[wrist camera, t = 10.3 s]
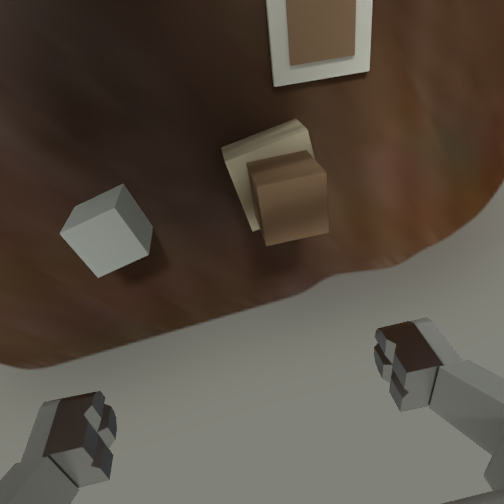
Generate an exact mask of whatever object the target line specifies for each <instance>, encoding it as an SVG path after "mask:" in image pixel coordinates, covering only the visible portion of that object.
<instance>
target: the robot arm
mask: <svg viewBox="0 0 504 504" xmlns="http://www.w3.org/2000/svg"><path fill="white" fill-rule="evenodd" d="M375 338H376V340H377V342H378V344H377V345H376V346H375V347H374V357H375V362H376V365H377V368H378V371H379V373H380V375H381V377H382V378H383V379H385V380H386V381H388V382H389V383H390V390H389V391H390V394H391V395H392V397H393V399H394V401H395V403H396V405H397V407H398V408H399V410H400V412H402V411H407V410H412V409H417V408H422V407H427V406H429V408H430V409H432V410H433V411H434V412H436V413H437V414H438V415H440V416H441V417H442V418H444V419H445V420H446V421H447V422H449V423H450V424H451V425H453V426H454V427H455V428H457V429H458V430H459V431H461V432H462V433H463V434H465V435H466V436H467V437H469V438H470V439H471V440H473V441H474V442H475V443H476V444H478V445H479V446H481V447H482V448H483V449H485V450H486V451H487V452H489V453H490V454H491V455H492V458H491V460H490V462H489V464H488V466H487V468H486V470H485V474H484V477H485V479H486V480H487V482H488V483H489V485H490V487H491V488H492V490H493V491H491V492H487V493H483V494H479V495H475V496H471V497H467V498H463V499H459V500H455V501H451V502H447V503H442V504H504V378H502V377H500V376H498V375H496V374H494V373H492V372H490V371H488V370H486V369H484V368H483V367H481V366H479V365H477V364H475V363H473V362H471V361H469V360H466V361H463V360H462V359H461V358H460V356H459V355H458V354H457V353H456V351H455V350H454V349H453V347H452V346H451V345H450V344H449V342H448V341H447V340H446V339H445V337H444V336H443V335H442V334H441V332H440V331H439V330H438V328H437V327H436V326H435V325H434V323H433V322H432V321H431V320H430V319H429V318H423V319H418V320H414V321H410V322H409V321H407V322H403V323H399V324H395V325H391V326H386V327H382V328H378V329H377V330H376V333H375ZM104 401H105V397H104V395H103V394H102V392H101V391H97V392H92V393H87V394H82V395H77V396H72V397H67V398H62V399H57V400H52V401H48V402H44V403H43V404H42V406H41V407H40V409H39V411H38V414H37V417H36V420H35V423H34V426H33V428H32V431H31V434H30V437H29V440H28V443H27V446H26V449H25V452H24V454H23V457H22V460H21V462H20V463H16V464H15V465H14V466H13V467H12V468H11V469H10V470H9V471H8V472H7V474H6V475H5V476H4V477H3V478H2V479H1V480H0V504H71V502H72V500H73V499H74V497H75V496H76V494H77V492H78V491H79V489H78V488H80V487H84V486H88V485H91V484H96V483H99V482H103V481H107V480H109V479H110V473H111V466H112V460H113V454H112V453H111V451H110V449H109V448H110V446H111V445H112V443H113V442H114V440H115V439H116V432H117V424H116V416H115V413H114V411H113V409H112V407H111V406H109V405H106V404H104Z"/></svg>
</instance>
